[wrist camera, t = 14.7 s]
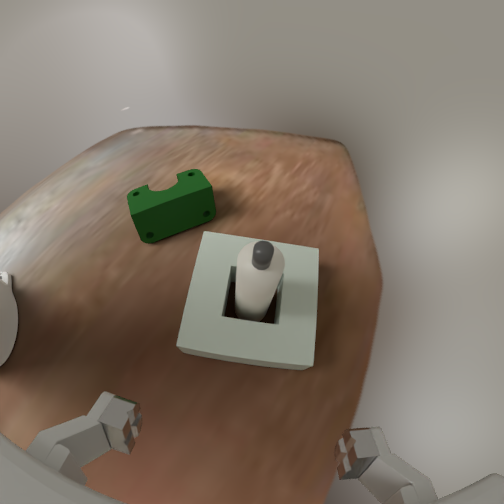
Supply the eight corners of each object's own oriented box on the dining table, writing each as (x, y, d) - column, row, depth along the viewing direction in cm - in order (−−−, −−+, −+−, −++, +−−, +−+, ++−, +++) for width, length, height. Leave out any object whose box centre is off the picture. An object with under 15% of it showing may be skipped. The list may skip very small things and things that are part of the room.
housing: (183, 352, 30) (176, 345, 26) (206, 249, 37) (204, 231, 33) (302, 370, 30) (313, 365, 26) (309, 265, 37) (318, 248, 33)
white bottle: (232, 320, 32) (233, 268, 20) (237, 290, 34) (241, 224, 22) (265, 325, 32) (287, 276, 20) (268, 295, 34) (290, 231, 22)
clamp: (195, 217, 45) (208, 168, 40) (207, 240, 41) (223, 186, 36) (123, 219, 38) (129, 164, 33) (128, 244, 35) (134, 184, 30)
